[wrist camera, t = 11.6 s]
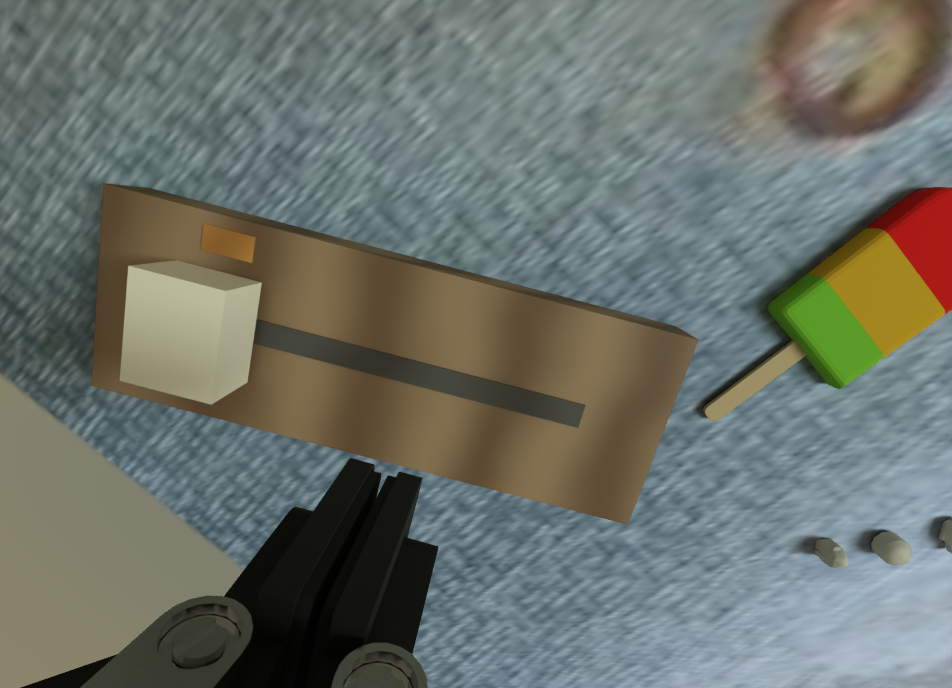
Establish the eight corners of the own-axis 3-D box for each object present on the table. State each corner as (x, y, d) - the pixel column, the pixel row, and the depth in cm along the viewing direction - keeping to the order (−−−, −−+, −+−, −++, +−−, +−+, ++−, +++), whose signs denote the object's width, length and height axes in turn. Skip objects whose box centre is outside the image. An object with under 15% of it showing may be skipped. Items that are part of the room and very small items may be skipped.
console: (675, 326, 25) (699, 340, 22) (614, 492, 28) (628, 525, 25) (149, 188, 25) (101, 183, 22) (134, 368, 27) (89, 386, 24)
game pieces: (959, 512, 27) (993, 533, 25) (956, 545, 28) (989, 568, 26) (809, 525, 28) (831, 546, 26) (808, 556, 28) (830, 580, 26)
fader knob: (262, 282, 22) (226, 290, 19) (247, 382, 24) (211, 404, 21) (177, 260, 22) (128, 265, 19) (167, 361, 24) (119, 380, 21)
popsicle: (983, 262, 24) (1022, 265, 22) (730, 444, 27) (746, 460, 25) (922, 177, 23) (957, 172, 22) (669, 374, 26) (681, 385, 25)
